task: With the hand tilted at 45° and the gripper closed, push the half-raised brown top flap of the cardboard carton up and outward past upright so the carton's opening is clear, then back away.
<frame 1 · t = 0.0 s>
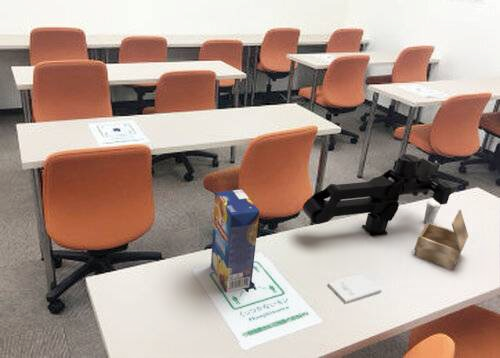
hand: (447, 181, 158), 17 cm above the table, tool horizontal, fingers open, 9 cm apart
carton: (437, 254, 147), on the table
external hard drive: (353, 290, 129), on the table
milkshake: (429, 223, 164), on the table
flap: (460, 230, 140), point 11 cm above the table, hinge at 60.0°, touching carton
juice carton: (230, 276, 128), on the table
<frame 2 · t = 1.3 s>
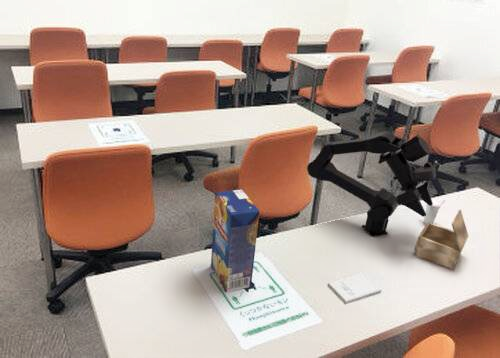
hand: (428, 210, 144), 14 cm above the table, tool tilted 45°, fingers open, 8 cm apart
nothing on the table moved.
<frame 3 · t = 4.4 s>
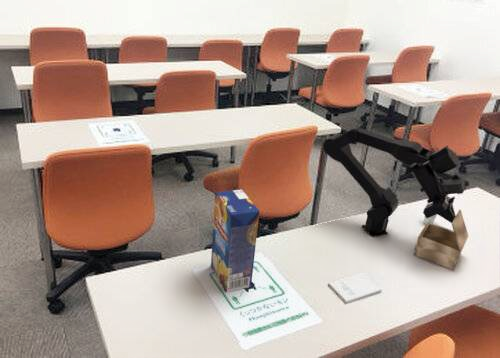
hand: (455, 223, 140), 13 cm above the table, tool tilted 45°, fingers closed, pressing on flap
flap: (460, 230, 140), point 11 cm above the table, hinge at 60.0°, touching gripper
everything else where it was.
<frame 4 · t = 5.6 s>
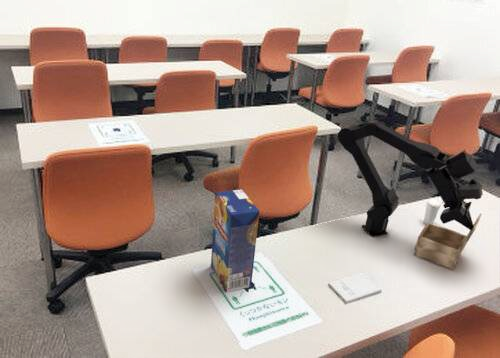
hand: (472, 229, 138), 13 cm above the table, tool tilted 45°, fingers closed, pressing on flap
flap: (470, 232, 139), point 11 cm above the table, hinge at 98.9°, touching carton, gripper
everything else where it was.
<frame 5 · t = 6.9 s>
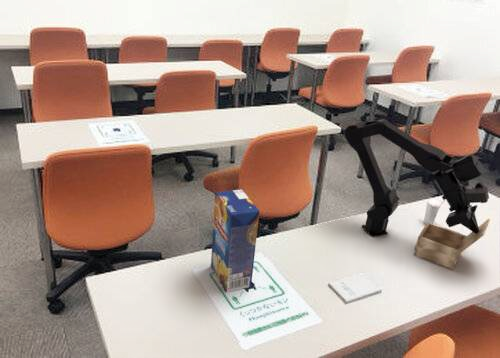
hand: (477, 232, 137), 12 cm above the table, tool tilted 45°, fingers closed, pressing on flap
flap: (475, 235, 138), point 11 cm above the table, hinge at 116.6°, touching carton, gripper
everything else where it was.
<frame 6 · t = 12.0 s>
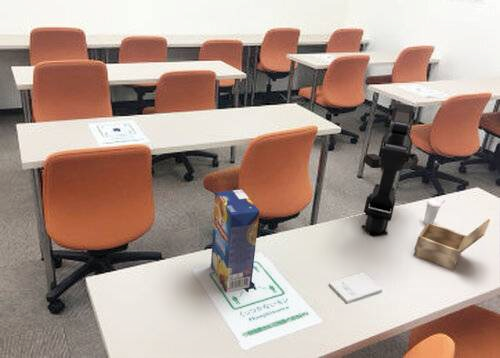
hand: (385, 181, 162), 13 cm above the table, tool pointing down, fingers closed
flap: (475, 235, 138), point 11 cm above the table, hinge at 117.0°, touching carton
everything else where it was.
at the end: flap at +117° (first picture: +60°); milkshake moved 0.2 cm from its start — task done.
